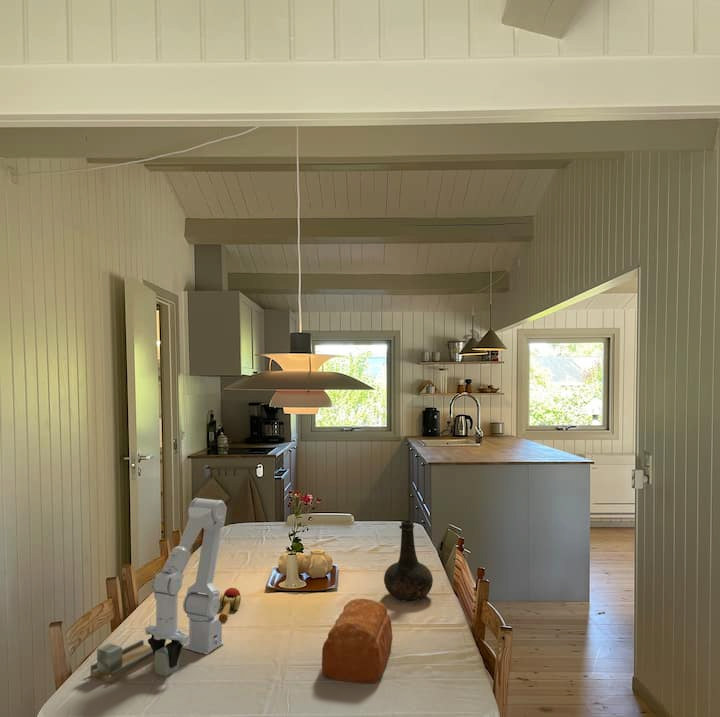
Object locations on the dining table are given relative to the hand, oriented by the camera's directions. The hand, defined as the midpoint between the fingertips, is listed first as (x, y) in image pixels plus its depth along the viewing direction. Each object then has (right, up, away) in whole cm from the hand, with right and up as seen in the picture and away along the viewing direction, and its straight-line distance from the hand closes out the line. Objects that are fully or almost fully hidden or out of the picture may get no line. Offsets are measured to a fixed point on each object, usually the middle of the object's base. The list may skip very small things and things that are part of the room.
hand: (166, 664), depth 173 cm
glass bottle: (+72, -3, +55) cm, 91 cm away
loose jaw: (0, -2, 0) cm, 2 cm away
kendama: (+9, -2, +41) cm, 42 cm away
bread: (+54, -2, +6) cm, 54 cm away
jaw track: (-12, -2, +3) cm, 12 cm away
